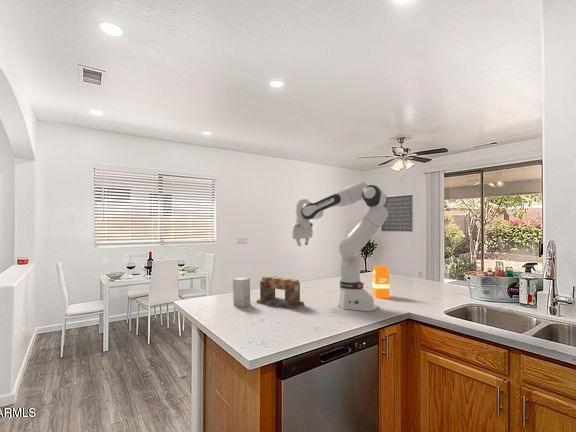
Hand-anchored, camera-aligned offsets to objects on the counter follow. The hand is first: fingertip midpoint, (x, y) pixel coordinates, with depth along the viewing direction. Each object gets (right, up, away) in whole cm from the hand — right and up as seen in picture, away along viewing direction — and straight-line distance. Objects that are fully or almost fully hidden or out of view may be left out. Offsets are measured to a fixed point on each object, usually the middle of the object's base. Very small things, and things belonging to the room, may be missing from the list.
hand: (302, 245), depth 207 cm
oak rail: (-15, -24, -17) cm, 33 cm away
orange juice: (+51, -34, 0) cm, 61 cm away
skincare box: (-37, -33, -21) cm, 54 cm away
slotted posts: (-15, -33, -18) cm, 40 cm away
